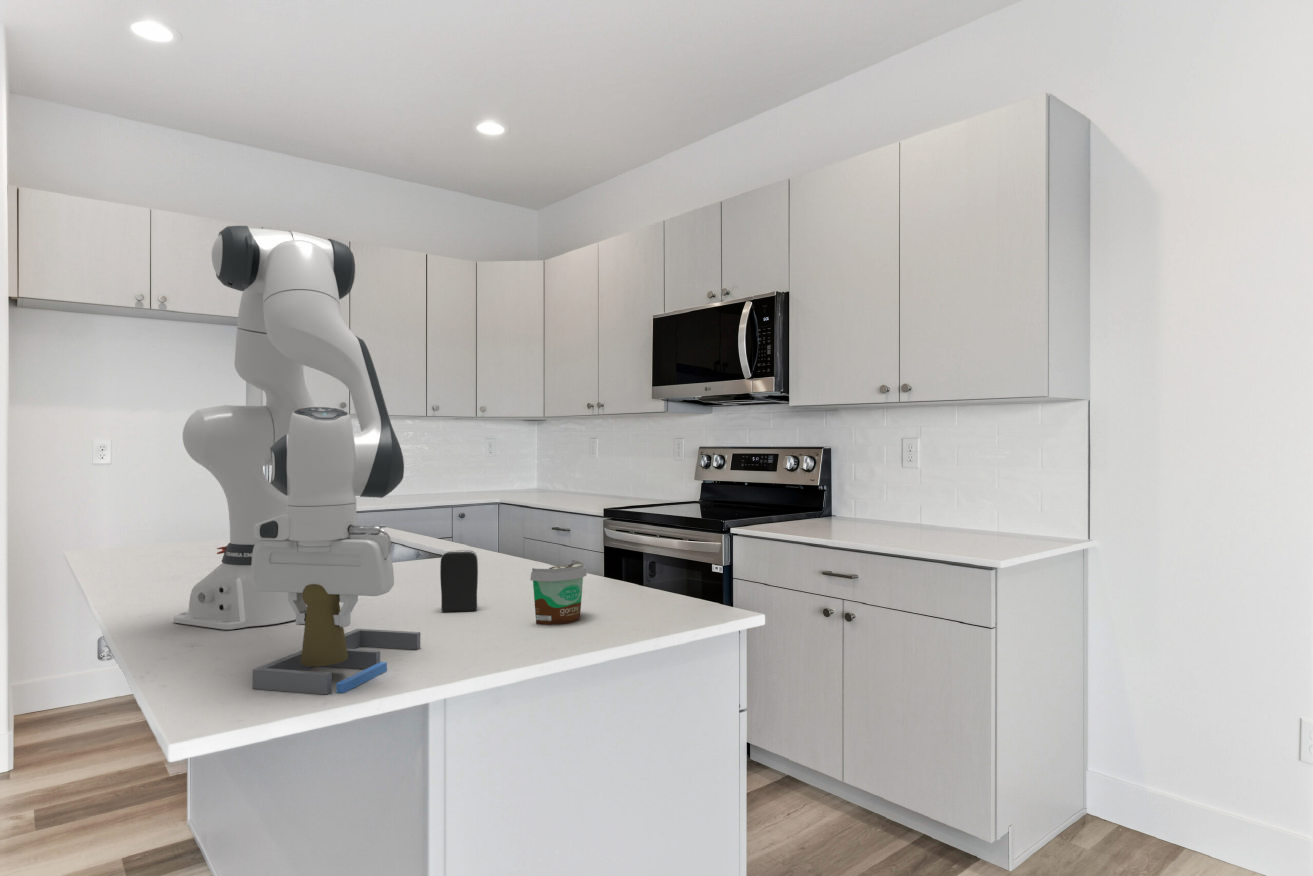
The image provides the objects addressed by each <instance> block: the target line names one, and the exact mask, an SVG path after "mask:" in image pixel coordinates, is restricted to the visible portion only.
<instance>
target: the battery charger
mask: <svg viewBox="0 0 1313 876" xmlns="http://www.w3.org/2000/svg"><path fill="white" fill-rule="evenodd" d="M439 566H440V567H439V568H440V571H439V578H440V593H441V594H440V595H441V597H440V598H441V599H440V601H441V603H440V604H441V605H440V607H441V608H440V610H441V612H446V613H447V612H448V613H452V612H453V613H454V612H457V613H459V612H460V613H461V612H471V611H472V612H474V611H477V610H478V608H479V607H478V588H479V586H478V585H479V584H478V583H479V558H478V555H477V553H476V552H475V551H473V550H466V549H464V550H462V549H461V550H449V551H446V552H445V553H443V554H442V556H441V558H440V565H439Z"/></svg>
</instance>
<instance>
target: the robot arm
mask: <svg viewBox="0 0 1313 876" xmlns="http://www.w3.org/2000/svg"><path fill="white" fill-rule="evenodd" d="M211 262H212V263H211V264H212V267H213V270H214V271H215V272H214V273H215V275H216V278H217V280H219V282H220V283H221V284H222V285H223V286H225V287H227V288H230V289H232V290H236V291H240V292H242V294H241V297H240V302H239V309H238V313H237V323H236V335H235V336H236V337H235V348H234V349H235V350H234V362H233V363H234V369H235V371H236V373H237V375H238V376H239V377H240V378H241V379H242V380H243V381H245V382H247V383H248V384H250V385H251V386H253V387H255V388H257V389H259V390H262V391H263V392H264V393H265V397H266V398H265V399H266V401H265V402H266V403H265V405H231V404H230V405H227V404H225V405H218V406H212V407H206V408H200V409H196V410H195V411H194V412H193V413H191V415H190V416H189V417H188V418H187V420H186V422H185V424H184V426H183V430H182V441H183V443H182V444H183V446H184V449H185V451H186V452H187V454H188V455H189V457H190V458H191V459H192V460H193V461H194V462H196V463H197V464H198V465H200V466H202V467H203V468H205V469H206V470H207V471H208V472H209V473H210V474H211V475H212V476H213V477H214V478H215V479H216V481H217V482H218V483H219V486H221V488H222V490H223V493H224V495H225V499H226V502H227V510H228V518H229V519H228V520H229V521H228V522H229V542H228V543H227V545H226V546H220V547H217V548H216V550H220V551H217V552H216V554H217V555H223V556H222V559H221V563H220V564H219V565H218V566H217V567H215V568H214V570H212V571H211V572H210V573H209V574H207V575H206V576H205V577H204V578H203V579H200V581H198V582H197V583H196V584H195V585H194V586H193V588H192V589H191V592H190V595H189V601H188V610H186V611H184V612H180V613H178V614H177V615H175V616H174V617H173V623H176V624H182V625H188V626H189V625H190V626H197V627H202V628H203V627H204V628H211V629H219V630H227V631H228V630H235V629H236V630H237V629H242V628H249V627H250V628H251V627H259V626H270V625H277V624H281V623H287V622H291V621H295V624H296V625H297V626H305V620H306V611H307V605H306V604H305V602H304V601H303V598H302V592H303V590H304V588H305V587H306V586H307V585H310V584H318V585H321V586H323V588H324V589H325V590H326V592H327V593H328V594H335V595H340V602H339V603H340V604H342V606H341V607H340V612H339V613H338V614H334V615H333V620H334V626H335V627H341V628H344V629H345V628H348V627H349V626H350V625H351V613H352V612H353V610H354V608H355V606H356V604H358V601H359V596H361V597H364V596H365V597H379V596H381V595H386V594H388V593H390V591H391V590H392V589H393V587H394V585H395V576H394V575H395V574H394V565H393V558H392V554H391V551H392V544H391V543H392V541H391V540H392V539H391V535H390V534H388V532H387V531H386V530H384V529H382V527H381V526H378V525H377V526H376V525H372V526H366V525H364V526H363V525H357V498H356V497H360V498H379V499H381V498H385V497H386V496H388V495H389V494H390V493H391V492H393V491H394V490H395V489H396V488H397V487H398V486H399V485H400V484H401V482H402V481H403V479H404V475H405V459H404V458H405V457H404V454H403V451H402V447H401V445H400V442H399V440H398V436H397V435H396V433H395V430H394V428H393V424H392V423H391V418H390V415H389V412H388V409H387V406H386V401H385V399H384V395H383V392H382V387H381V385H380V384H381V383H380V380H379V378H378V374H377V371H376V368H375V364H374V362H373V358H372V356H371V353H370V351H369V349H368V346H367V344H366V342H365V341H364V339H362V338H360V337H358V336H357V335H355V334H354V333H353V332H352V331H351V329H350V328H349V327H348V325H347V324H346V321H345V320H344V318H343V315H342V312H341V303H340V300H341V299H343V298H344V297H346V296H347V295H349V293H350V292H351V291H352V288H353V287H354V286H353V285H354V283H355V279H356V276H357V268H356V262H355V256H354V253H353V251H352V250H351V249H350V247H349V246H348V245H347V244H345V243H342V242H340V241H338V240H335V239H332V238H327V239H325V238H322V237H319V236H316V235H315V236H314V235H311V234H306V233H303V232H297V231H292V230H288V231H286V230H280V229H271V228H270V229H269V228H258V227H257V228H254V227H249V226H248V225H228V226H226V227H224V228H223V229H221V231H219V233H218V236H217V238H216V239H215V241H214V244H213V246H212V249H211ZM304 366H305V367H306V368H307V367H308V368H311V369H314V370H317V371H320V372H322V373H325V375H329V376H331V377H333V378H334V379H336V380H338V381H340V382H341V383H342V384H343V385H344V386H345V387H346V388H347V389H348V391H349V393H350V395H351V398H352V402H353V407H354V410H355V414H356V416H357V417H356V419H357V420H358V424H359V428H360V431H359V432H358V431H356V432H354V429H353V427H354V426H353V423H352V418H351V415H350V413H348V412H347V411H345V410H344V409H339V408H335V407H328V406H327V407H326V406H325V407H324V406H318V405H317V403H316V402H315V401H314V400H313V398H312V396H311V395H310V393H309V391H308V388H307V384H306V381H305V375H304V374H305V373H304ZM265 466H267V467H268V466H271V477H270V482H269V481H268V479H267V478H266V475H265V471H264V467H265Z"/></svg>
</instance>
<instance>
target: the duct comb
mask: <svg viewBox="0 0 1313 876" xmlns="http://www.w3.org/2000/svg"><path fill="white" fill-rule="evenodd" d="M344 634H345V640H346V646H347V652H348V659H347V660H345V661H343V662H340V663H336V664H331V665H326V666H325V667H329V668H339V669H340V668H343V669H353V670H354V669H358V670H361V671H358V672H356V673H355V674H353V675H351V676H349V677H347V678H344V679H342V680H339V681H338V682H336V685H335V686H336V692H335V693H338V694H344V693H346V692H348V691H350V690H352V689H354V688H356V687H357V686H360V685H362V684H364V683H366V682H368V681H369V680H372V679H374V678H375V677H379V675H381V674H383V673H386V672H387V671H388V662H386V661H385V662H384V661H381V650H377V649H375V650H374V649H359V647H365V648H366V647H369V648H383V649H399V650H414V651H417V650H420V649H421V631H404V630H386V629H385V630H384V629H372V628H356V629H353V630H350V631H347V632H344ZM301 656H302V649H300V651H297V652H294V653H291V654H289V655H287V656H284V657H282V658H279V659H275V660H274V661H271V662H268V663H267V664H263V665H260V666H258V667H256V668H253V669H251V671H252V672H251V673H252V689H253V690H263V691H264V690H267V691H275V692H276V691H278V692H290V693H291V692H292V693H301V694H302V693H303V694H312V695H313V694H315V695H328V694H332V692H333V690H332V689H333V688H332V687H333V686H332V683H333V682H332V680H333V679H332V678H333V677H332V676H333V675H332V672H325V671H323V672H322V671H312V670H311V671H310V670H308V669H311V668H313V667H314V666H304V665H302V664H301Z"/></svg>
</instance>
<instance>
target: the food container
mask: <svg viewBox="0 0 1313 876" xmlns="http://www.w3.org/2000/svg"><path fill="white" fill-rule="evenodd" d="M587 575H588V573H587V569H586V566H585V563H584V561H581V560H577V559H571V564H568V565H564V566H559V565H557V566H551V567H549V568H534V567H532V568H531V573H530V579H529V580H530V581H532V589H533V600H534V612H535V624H536V625H540V626H541V625H544V626H546V625H547V626H560V625H568V624H574V623H575V622H578V621H580V619H581V612H582V611H581V609H582V598H583V597H582V596H583V584H584V583H583V581H584V577H586V576H587Z"/></svg>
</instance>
